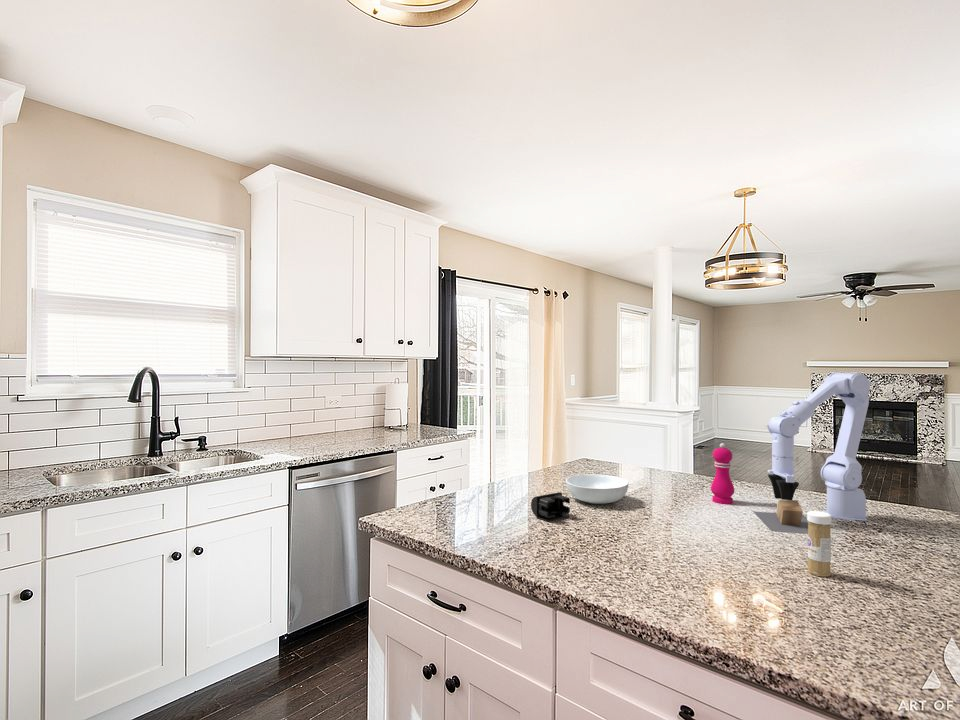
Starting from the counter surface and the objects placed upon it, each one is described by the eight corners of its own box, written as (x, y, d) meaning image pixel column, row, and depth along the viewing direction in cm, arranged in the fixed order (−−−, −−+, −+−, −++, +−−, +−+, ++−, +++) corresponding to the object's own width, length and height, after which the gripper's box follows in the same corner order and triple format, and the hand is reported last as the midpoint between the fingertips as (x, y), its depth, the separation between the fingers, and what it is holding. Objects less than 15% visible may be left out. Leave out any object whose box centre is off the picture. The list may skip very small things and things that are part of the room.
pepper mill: (737, 506, 172) (737, 445, 172) (713, 504, 174) (713, 444, 174) (731, 500, 179) (731, 441, 180) (708, 499, 181) (708, 441, 181)
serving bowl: (554, 496, 184) (554, 477, 184) (602, 490, 193) (602, 472, 193) (590, 512, 165) (590, 490, 165) (642, 504, 174) (642, 484, 174)
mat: (802, 515, 162) (802, 514, 162) (828, 536, 142) (828, 535, 142) (752, 512, 165) (753, 511, 165) (771, 532, 146) (771, 531, 146)
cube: (797, 500, 153) (802, 511, 149) (795, 514, 155) (800, 525, 151) (778, 499, 155) (783, 510, 150) (776, 513, 157) (781, 524, 152)
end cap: (555, 511, 166) (555, 490, 166) (570, 517, 160) (571, 495, 160) (530, 516, 160) (530, 494, 160) (545, 522, 154) (545, 499, 154)
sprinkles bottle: (802, 569, 119) (802, 510, 119) (821, 569, 120) (821, 510, 120) (817, 578, 115) (817, 516, 115) (836, 577, 115) (836, 515, 115)
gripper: (761, 451, 167) (761, 494, 167) (775, 460, 153) (775, 506, 153) (786, 452, 165) (786, 496, 165) (802, 461, 151) (802, 508, 151)
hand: (782, 501), depth 159 cm, fingers open, 7 cm apart
